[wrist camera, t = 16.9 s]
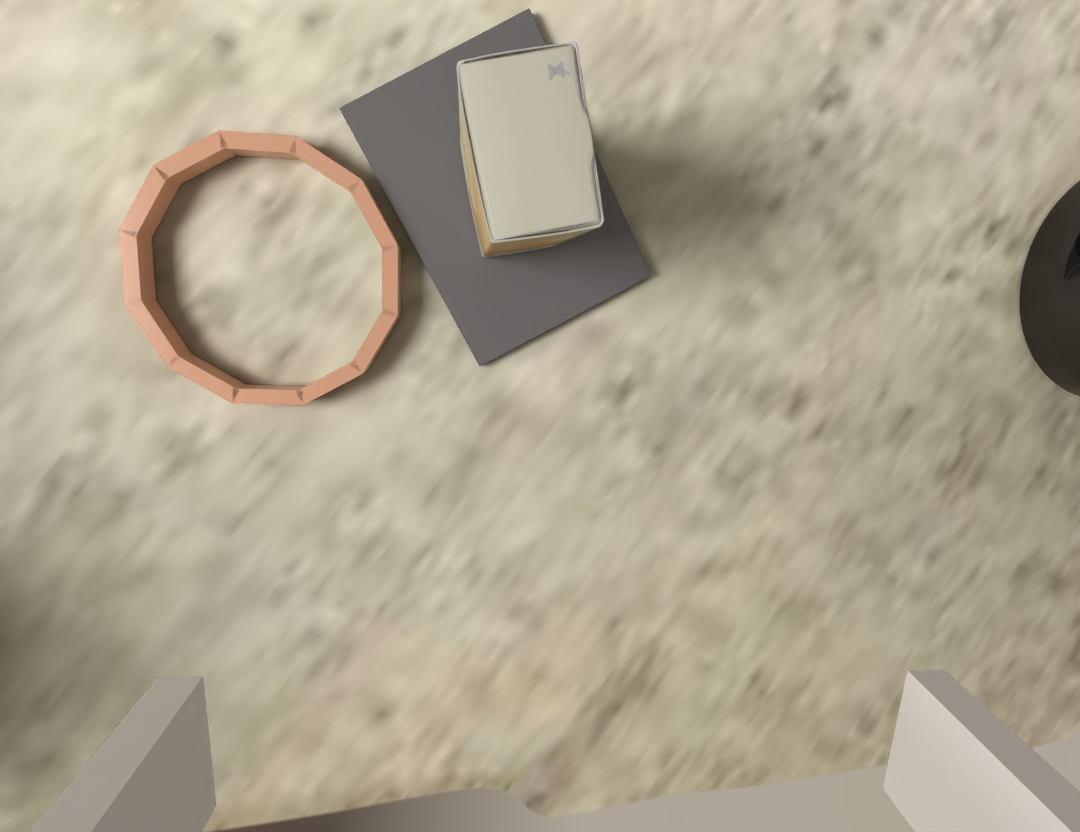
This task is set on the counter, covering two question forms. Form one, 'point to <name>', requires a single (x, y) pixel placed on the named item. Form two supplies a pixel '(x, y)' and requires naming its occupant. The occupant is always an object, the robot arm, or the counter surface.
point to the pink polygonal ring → (141, 266)
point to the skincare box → (527, 148)
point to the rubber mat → (446, 217)
